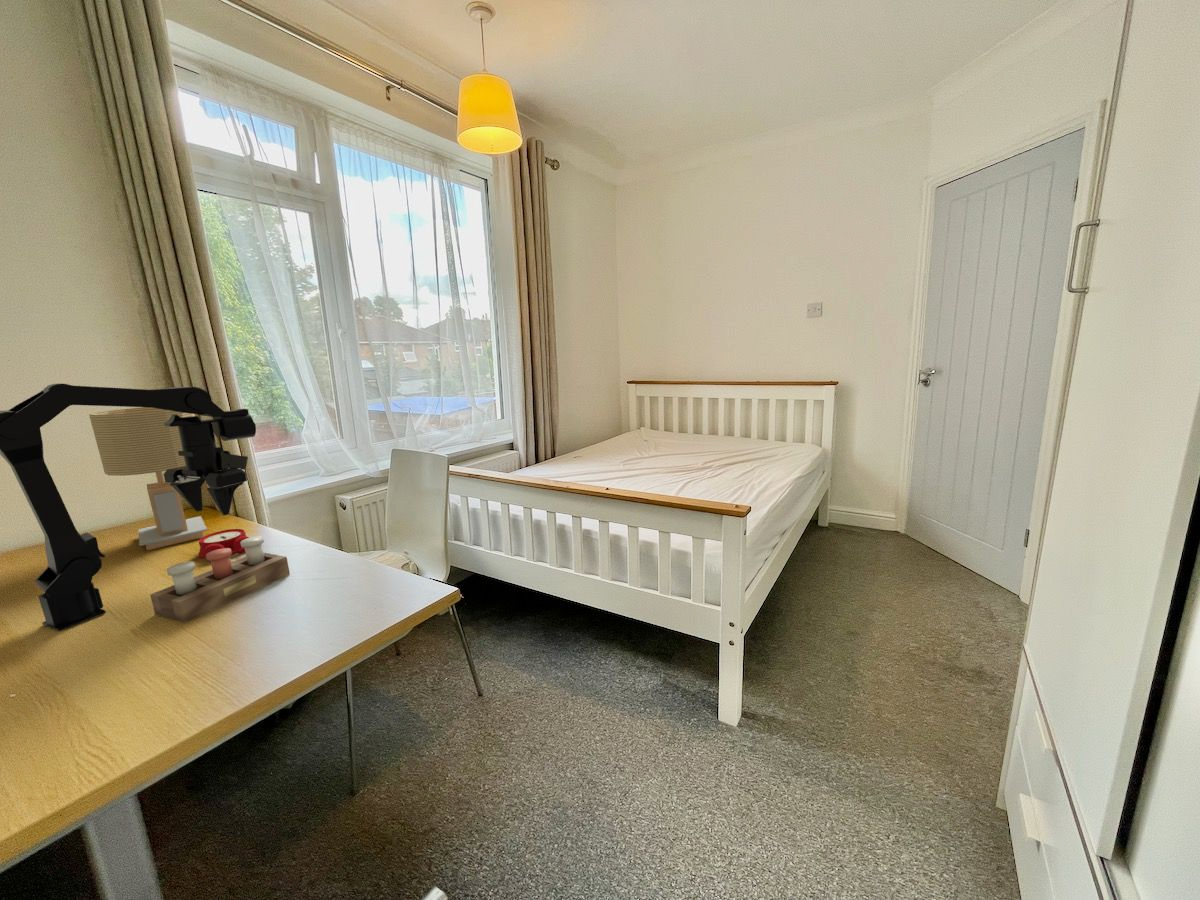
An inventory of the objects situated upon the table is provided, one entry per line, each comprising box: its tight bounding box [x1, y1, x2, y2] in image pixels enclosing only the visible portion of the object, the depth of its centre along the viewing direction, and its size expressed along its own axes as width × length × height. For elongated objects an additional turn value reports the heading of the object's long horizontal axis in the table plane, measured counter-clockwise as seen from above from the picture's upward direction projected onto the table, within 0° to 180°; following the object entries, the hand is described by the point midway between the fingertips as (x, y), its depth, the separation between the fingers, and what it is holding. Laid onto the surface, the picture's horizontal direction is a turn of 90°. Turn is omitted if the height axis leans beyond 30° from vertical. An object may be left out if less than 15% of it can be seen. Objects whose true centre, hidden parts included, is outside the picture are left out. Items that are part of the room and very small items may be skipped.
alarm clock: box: [198, 528, 250, 560], centre depth 118 cm, size 10×6×15 cm
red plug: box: [205, 548, 233, 579], centre depth 96 cm, size 4×4×5 cm
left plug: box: [166, 561, 197, 595], centre depth 90 cm, size 4×4×5 cm
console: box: [149, 552, 291, 624], centre depth 97 cm, size 20×9×4 cm, turn 158°
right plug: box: [240, 535, 265, 565], centre depth 102 cm, size 4×4×5 cm
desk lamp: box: [88, 407, 208, 551], centre depth 126 cm, size 20×20×35 cm
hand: (212, 512), depth 106 cm, fingers open, 9 cm apart
